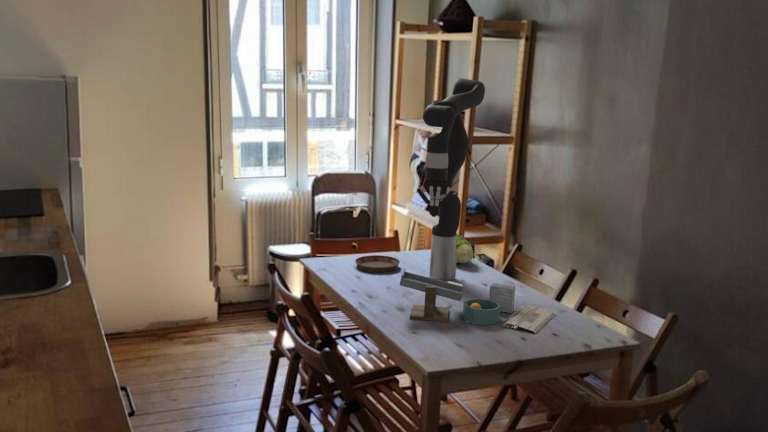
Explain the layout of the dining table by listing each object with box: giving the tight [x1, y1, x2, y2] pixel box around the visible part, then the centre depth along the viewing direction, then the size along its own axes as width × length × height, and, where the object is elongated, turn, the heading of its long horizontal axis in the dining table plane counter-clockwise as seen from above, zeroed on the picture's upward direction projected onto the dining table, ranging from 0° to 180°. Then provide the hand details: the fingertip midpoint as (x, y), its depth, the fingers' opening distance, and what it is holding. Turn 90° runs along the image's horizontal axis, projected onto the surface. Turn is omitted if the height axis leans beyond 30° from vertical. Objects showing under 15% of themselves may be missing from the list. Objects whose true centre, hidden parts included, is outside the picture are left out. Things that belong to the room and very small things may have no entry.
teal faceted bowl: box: [462, 297, 501, 326], centre depth 228 cm, size 11×12×5 cm
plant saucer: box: [354, 254, 400, 273], centre depth 281 cm, size 18×18×3 cm
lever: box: [399, 267, 464, 302], centre depth 231 cm, size 15×20×5 cm
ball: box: [470, 303, 482, 309], centre depth 230 cm, size 4×4×4 cm
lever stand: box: [409, 276, 450, 323], centre depth 229 cm, size 11×12×11 cm
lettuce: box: [455, 233, 474, 264], centre depth 292 cm, size 12×21×11 cm, turn 21°
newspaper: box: [503, 304, 557, 335], centre depth 229 cm, size 23×12×2 cm, turn 150°
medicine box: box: [488, 282, 516, 314], centre depth 236 cm, size 8×4×9 cm, turn 71°
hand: (433, 216), depth 241 cm, fingers closed
